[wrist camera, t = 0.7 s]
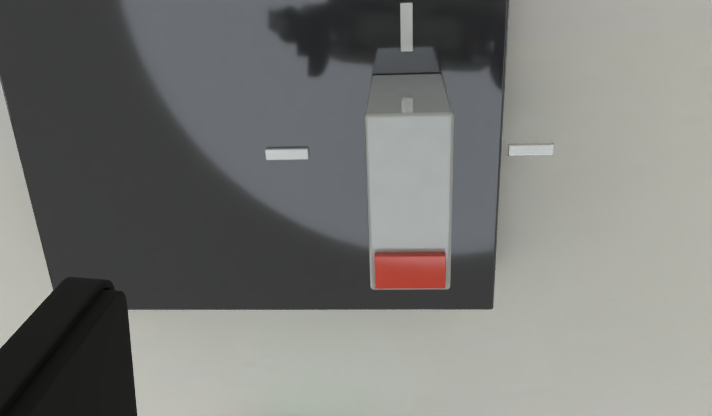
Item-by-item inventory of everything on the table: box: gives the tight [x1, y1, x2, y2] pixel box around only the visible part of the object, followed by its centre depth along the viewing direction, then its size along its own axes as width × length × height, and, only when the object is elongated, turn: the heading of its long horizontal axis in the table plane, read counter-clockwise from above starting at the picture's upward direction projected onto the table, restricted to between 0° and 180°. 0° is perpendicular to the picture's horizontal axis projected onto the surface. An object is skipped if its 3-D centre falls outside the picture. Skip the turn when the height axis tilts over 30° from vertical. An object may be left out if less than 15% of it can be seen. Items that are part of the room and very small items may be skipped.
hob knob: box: [364, 74, 454, 290], centre depth 19 cm, size 5×2×5 cm, turn 2°
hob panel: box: [0, 0, 554, 310], centre depth 23 cm, size 12×18×3 cm
